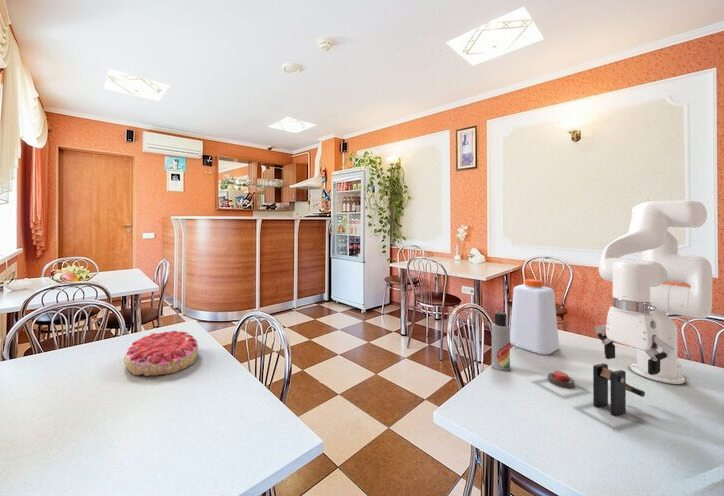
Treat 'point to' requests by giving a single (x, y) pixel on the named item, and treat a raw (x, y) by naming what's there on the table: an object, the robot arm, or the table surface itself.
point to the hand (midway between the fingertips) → (630, 365)
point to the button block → (561, 383)
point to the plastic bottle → (534, 318)
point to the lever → (607, 375)
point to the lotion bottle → (501, 342)
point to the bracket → (616, 390)
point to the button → (560, 376)
